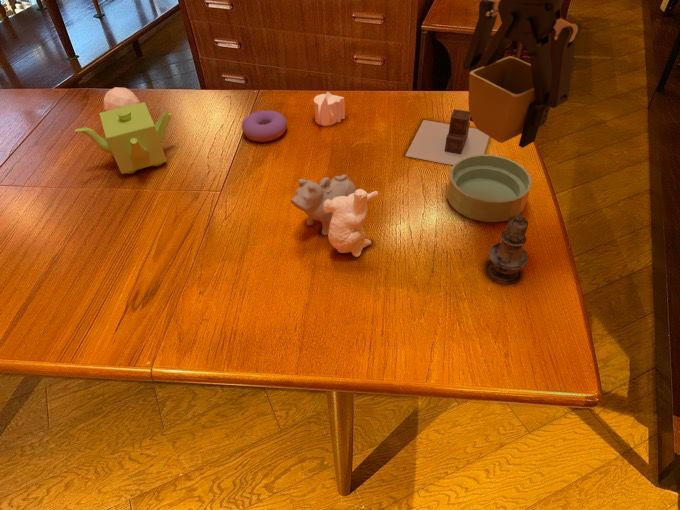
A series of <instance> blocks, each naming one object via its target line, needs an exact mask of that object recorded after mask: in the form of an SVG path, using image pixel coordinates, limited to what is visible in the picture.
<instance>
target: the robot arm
mask: <svg viewBox="0 0 680 510" xmlns="http://www.w3.org/2000/svg"><path fill="white" fill-rule="evenodd" d="M563 2H564V0H480V1H479V6H478V19H477V22H476V25H475V28H474V30H473V33H472V37H471V40H470V43H469V45H468V49H467V52H466V55H465V56H464V60H463V64H462V67H463V69H464V70H466V71H468V70H469V72H471V71H473V70H475V69H478V68H480V67H483V66H484V67H485V66H488V65H490V64H492V63H494V62H496V61H498V60H499V58H500V57H501V55H502V54H503V52H504V51H505V50H506V48H507V46H508V45H509V44H510V43H511V41H512V42H518V43H520V44H521V45H523V46H525V51H526V54H527V55H528V56H529V60H530V61H529V62H530V64H531V69H532V77H533V85H534V92H535V100H536V101H535V102H533V103H531V104H530V105H529V109H528V112H527V116H526V120H525V123H524V127H523V131H522V134H520V138H519V142H518V147H520V148H522V149H523V148H526V147H527V146H528V145H531V144H532V143H534V142H535V141H536V139H537V134H538V131H539V128H540V127H542V126H544V125H545V124H546V123H547V120H548V118H549V117H548V116H549V113H550V110H551V108H552V109H555V108H557V107H559V106H560V105H563V104H565V103H567V102H568V100H569V97H570V87H571V80H572V72H573V63H574V56H575V55H574V54H575V47H576V42H577V40H578V38H579V35H580V33H581V31H582V28H583V25H582V23H580V22H579V21H576V22H573V23H571V22H569V21H567V20H566V19H563V18H562V17H563V16H562V4H563ZM498 15H499V18H500V22H501V24H500V25H499V27H498V28H497V30H496V32H495V33H494V35H493V39H492V40H491V42H490V43H489V40H490V38H491V35H492V33H493V29H494V27H495V25H496V22H497V18H498ZM553 30H554V31H555V35H554V36H553V40H554V41H555V44H554V49H553V54H552V55H553V56H552V59H551V48H552V36H551V32H553ZM488 43H489V45H488ZM487 46H488V47H487ZM469 122H472V123H474V122H473V120H472V118H471V115H470V119H469Z"/></svg>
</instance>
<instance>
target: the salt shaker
mask: <svg viewBox="0 0 680 510" xmlns="http://www.w3.org/2000/svg"><path fill="white" fill-rule="evenodd" d="M528 228H529V221H528V220H527V218H526V217H524V215H523V214H522V212H521V213H520V214H518V215H515V216H512V217H510V218H509V220H507V221H506V226H505V230H503V231H502V232H501V234H500V239H501V242H498V243H495V244H492V245H491V246H490V248H489V249H488V251H487V254H488V255H487V256H488V258H489V262H488V263H487V264H486V267H485V271H486V274H487V276H488V277H489V278H490V279H491V280H492V281H494V282H496V283H499V284H503V285H511V284H514V283H516V282H518V281H519V280H520V279H521V275H522V272H521V270H522V269H524V267H525V266H526V265H528V263H529V255H528V253H527V252H526V251H525V249H524V248H523V246H524V245H525V244H526V243H527V237H526V235H527V231H528Z"/></svg>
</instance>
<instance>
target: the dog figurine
mask: <svg viewBox="0 0 680 510" xmlns="http://www.w3.org/2000/svg"><path fill="white" fill-rule="evenodd" d="M297 181H298V186H297V187H296V190H295V193H294V194H295V195H294V197H293V198H291V199H290V203H291V204H292V205H293V206H294V207H295V208H297V209H298V210H300V211H302V212H304V213H305V215H306V216H307V220H306V225H307V226H313V225H314V223H315V221H319V222H320V223H321V226H322V229H321V234H322V235H323V236H328V233H329V226H330V221H331V218H332V214H333V213H332V212H330V213H325V212H324V210H323V203H324V201H325V200H327V199H330V200H332V199H333V198H335V197H338V196H348V195H350V194H352V193H355V191H356V190H357V188H356V186H355V184H354V183H353V182H352V181H351V180H350V178H349V176H348V175H347V174H346V173H344V174H342V175H335V176H334V177H333V178H331V179H330V177H328V176H325V177H323V178H321V180H320V181H319V183H317V182H315V181H313V180H310V179H305V178H299V179H298V180H297Z"/></svg>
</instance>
